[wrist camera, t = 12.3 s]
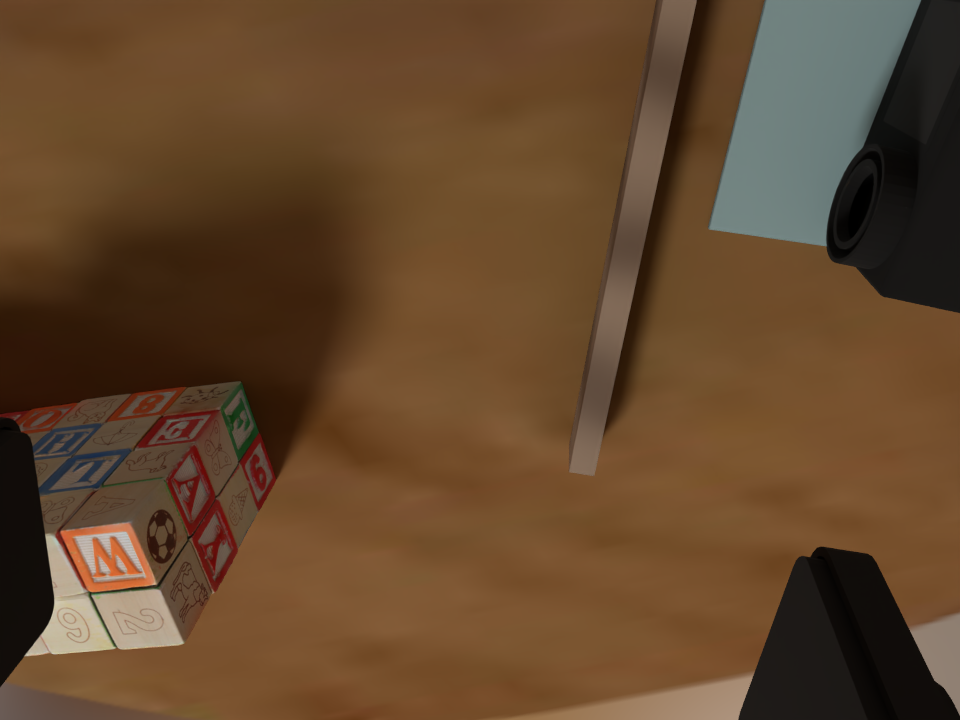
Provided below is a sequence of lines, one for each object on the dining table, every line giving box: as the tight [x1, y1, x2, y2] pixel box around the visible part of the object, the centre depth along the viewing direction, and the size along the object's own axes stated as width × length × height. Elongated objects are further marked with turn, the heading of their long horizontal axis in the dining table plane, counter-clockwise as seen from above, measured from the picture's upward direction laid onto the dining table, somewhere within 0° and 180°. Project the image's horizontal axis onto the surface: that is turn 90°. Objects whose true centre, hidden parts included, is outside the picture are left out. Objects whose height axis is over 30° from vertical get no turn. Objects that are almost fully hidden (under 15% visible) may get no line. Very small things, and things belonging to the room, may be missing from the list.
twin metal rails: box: [569, 0, 697, 476], centre depth 35 cm, size 24×21×2 cm
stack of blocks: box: [0, 381, 276, 656], centre depth 40 cm, size 21×6×12 cm, turn 101°
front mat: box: [708, 0, 921, 246], centre depth 34 cm, size 11×13×1 cm
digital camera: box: [826, 0, 960, 313], centre depth 30 cm, size 10×5×7 cm, turn 170°
